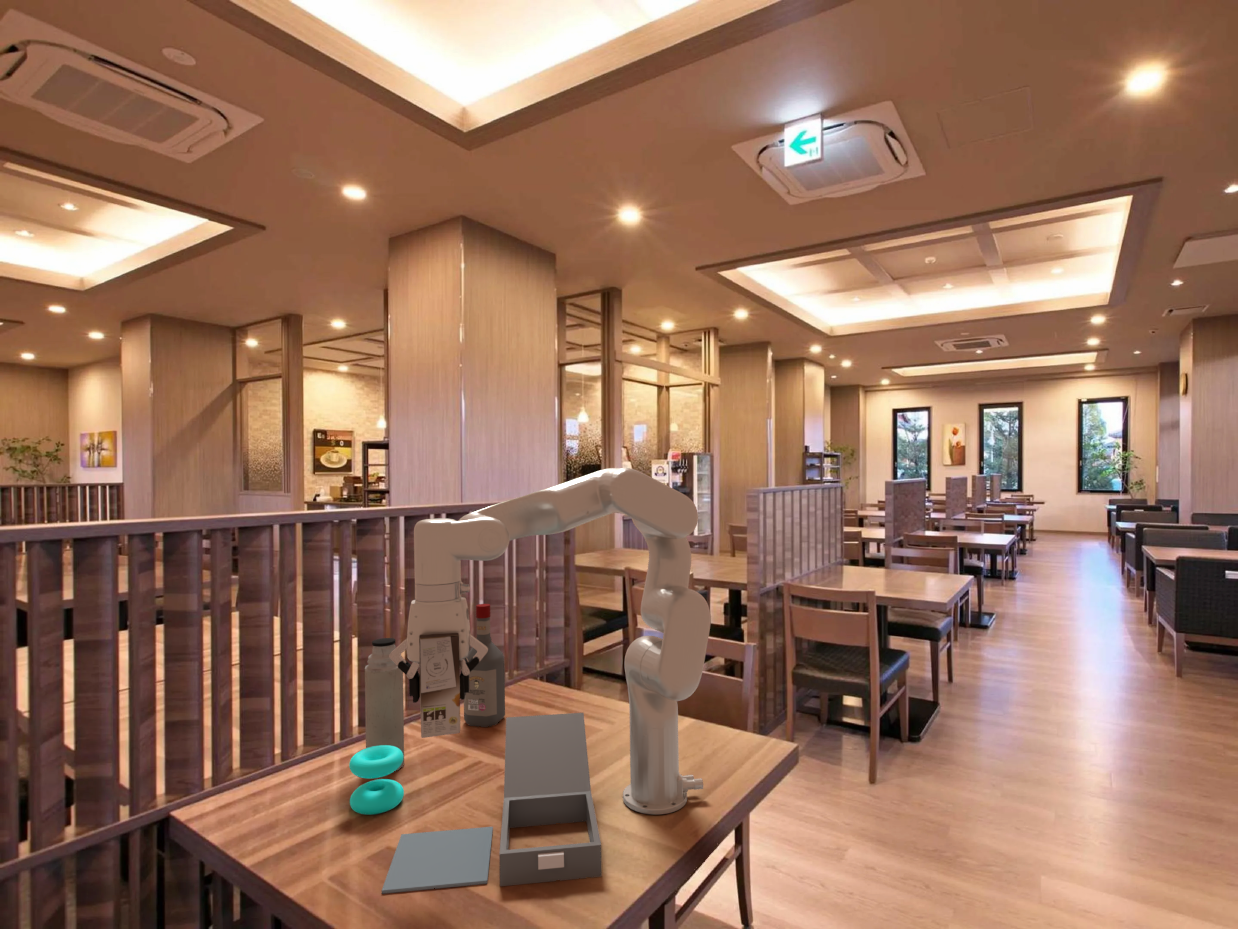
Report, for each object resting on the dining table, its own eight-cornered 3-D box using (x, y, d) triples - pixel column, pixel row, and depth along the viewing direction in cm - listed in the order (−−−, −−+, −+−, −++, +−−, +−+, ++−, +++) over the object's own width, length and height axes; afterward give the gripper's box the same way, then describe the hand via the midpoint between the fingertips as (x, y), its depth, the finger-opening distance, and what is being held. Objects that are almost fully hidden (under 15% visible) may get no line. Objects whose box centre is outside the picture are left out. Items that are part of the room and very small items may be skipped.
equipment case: (591, 818, 124) (590, 791, 124) (602, 879, 105) (601, 847, 105) (504, 825, 122) (503, 798, 122) (499, 889, 103) (499, 857, 103)
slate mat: (492, 829, 120) (492, 826, 120) (487, 883, 105) (487, 880, 105) (401, 837, 118) (401, 834, 118) (381, 893, 102) (381, 890, 102)
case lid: (590, 791, 124) (590, 794, 124) (583, 712, 139) (583, 715, 140) (503, 798, 122) (504, 801, 122) (506, 717, 137) (506, 720, 138)
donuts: (337, 761, 127) (370, 740, 136) (338, 814, 127) (371, 789, 136) (383, 767, 124) (413, 745, 134) (383, 820, 124) (414, 795, 134)
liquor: (493, 728, 168) (492, 609, 168) (460, 725, 170) (458, 608, 170) (508, 715, 177) (506, 602, 177) (476, 712, 179) (474, 601, 179)
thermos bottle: (373, 759, 151) (371, 635, 151) (408, 758, 151) (407, 634, 151) (360, 775, 143) (359, 644, 143) (398, 774, 143) (396, 644, 143)
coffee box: (461, 733, 108) (460, 635, 108) (420, 739, 106) (419, 638, 106) (458, 714, 117) (456, 622, 117) (420, 718, 115) (418, 626, 115)
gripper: (491, 586, 117) (493, 688, 117) (389, 590, 114) (390, 694, 114) (489, 594, 109) (491, 703, 109) (379, 599, 107) (381, 710, 107)
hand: (439, 697), depth 112 cm, fingers closed on coffee box, 7 cm apart
